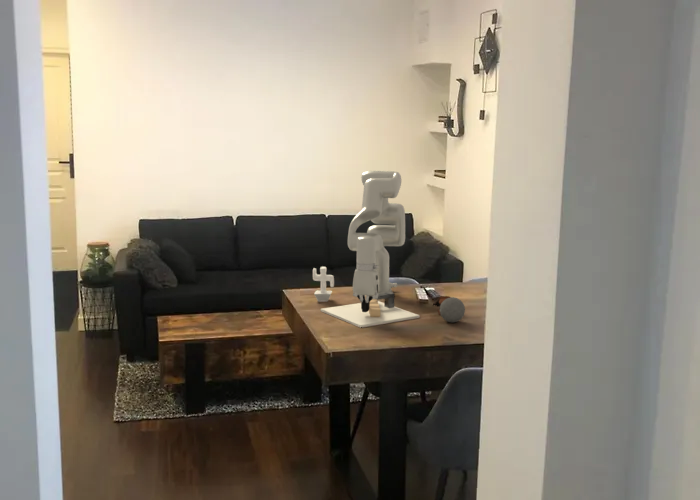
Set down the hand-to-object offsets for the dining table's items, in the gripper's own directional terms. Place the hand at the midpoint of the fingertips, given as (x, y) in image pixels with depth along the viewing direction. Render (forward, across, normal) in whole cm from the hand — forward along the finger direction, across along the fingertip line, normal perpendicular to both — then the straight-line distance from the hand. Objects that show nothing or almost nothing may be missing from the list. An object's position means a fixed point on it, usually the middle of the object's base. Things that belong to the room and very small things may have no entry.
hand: (365, 311), depth 307 cm
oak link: (+1, +1, -10) cm, 10 cm away
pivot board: (+3, +1, -6) cm, 7 cm away
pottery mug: (+3, -28, -22) cm, 35 cm away
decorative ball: (+3, -34, -9) cm, 35 cm away
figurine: (+3, +29, -20) cm, 35 cm away
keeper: (+2, -2, -15) cm, 16 cm away
